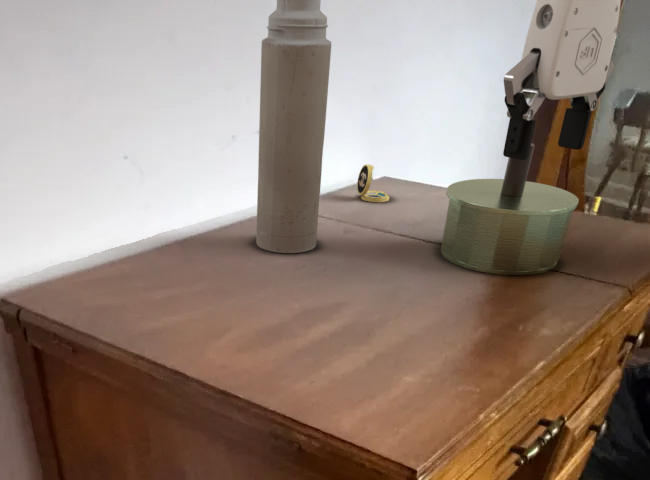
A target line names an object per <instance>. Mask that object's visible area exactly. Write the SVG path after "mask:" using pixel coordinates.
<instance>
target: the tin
mask: <svg viewBox="0 0 650 480" xmlns="http://www.w3.org/2000/svg"><path fill="white" fill-rule="evenodd" d="M573 212H574V210H572V211H570V212H566V213H562V214H556V215H544V216H525V215H510V214H501V213H494V212H488V211H483V210H478V209H474V208H470V207H467V206H464V205H461V204H459V203H456V202H454V201H453V200H451V199H450V198H449V200H448V205H447V212H446V216H445V223H444V227H443V234H442V238H441V248H440V253H441V255H442V257H443V258H444V259H445V260H447V261H448V262H450V263H451V264H454V265H456V266H459V267H462V268H465V269H467V270H471V271H476V272H480V273H485V274H492V275H503V276H530V275H539V274H543V273H547V272H550V271H551V270H553V269H554V268H555V267H557V265H558V262H559V260H560V258H561V254H562V251H563V248H564V244H565V241H566V237H567V234H568V231H569V227H570V223H571V219H572V217H573Z"/></svg>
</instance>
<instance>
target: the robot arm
mask: <svg viewBox="0 0 650 480" xmlns="http://www.w3.org/2000/svg"><path fill="white" fill-rule="evenodd" d="M621 1H622V0H536V2H535V6H534V9H533V12H532V16H531V20H530V23H529V27H528V30H527V34H526V37H525V42H524V46H523V51H522V55H521V59H520V61H519V62H517V63H516V64H515V65H514V66H513V67H511V69H509V70H508V71H507V72H506V73H505V74H504V76H503V88H504V94H505V96H504V104H505V106H506V108H507V110H506V117H508V118H509V120H508V121H509V122H508V126H507V131H506V136H505V142H504V147H503V152H502V154H503V156H504V157H505V158H508V159H509V158H514V159H518V160H526V159H527V158H528V156H529V152H530V147H531V143H532V142H533V137H534V133H535V129H536V123H537V120H536V119H533V118H534V116H535V114H536V113H537V111H538V110H539V108H540V107H541V105H542V104H543V102H544V101H545V99H546V98H547V99H548V100H553V101H557V100H564V99H568V101H569V104H570V107H566V108H565V112H564V115H563V120H562V125H561V128H560V133H559V136H558V141H557V145H558V146H559V147H561V148H566V149H571V150H576V151H579V150H582V149H583V148H584V144H585V141H586V137H587V134H588V129H589V126H590V121H591V117H592V113H593V111H594V110H596V108H597V106H598V100H599V98H600V97H601V95H602V94H603V93H604V91H605V89H606V84H607V82H608V80H609V78H610V76H611V75H612V73H613V71H614V68H615V63H614V62H613V60H612V55H613V49H614V45H615V40H616V34H617V30H618V29H617V28H618V24H619V19H620V12H621ZM528 99H529V100H530V101H529V103H528V102H527V100H528ZM532 144H533V143H532Z"/></svg>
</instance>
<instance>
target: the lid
mask: <svg viewBox="0 0 650 480" xmlns="http://www.w3.org/2000/svg"><path fill="white" fill-rule="evenodd" d="M534 149H535V144H534V143H531V147H530V152H529V156H528V158H527V159H526V160H518V159H514V158H509V157H508V159H507V164H506V168H505V172H504V176H503V178H474V179H473V178H472V179H465V180H459V181H456V182H453V183H451V184H449V185H448V186H447V187H446V192H445V194H446V196H447V198H448V199H449V200H450V199H451V200H453V201H454V202H456V203H459V204H461V205H464V206H467V207H470V208H474V209H478V210H483V211H488V212H494V213H501V214H510V215H525V216H544V215H556V214H562V213H566V212H570V211H572V210H573V211H574V210H576V208H577V207H578V205H579V201H580V199H579V198H578V197H577V196H576V195H575V194H574V193H572V192H570V191H568V190H566V189H563V188H560V187H557V186H553V185H549V184H545V183H539V182H534V181H527V178H528V175H529V170H530V166H531V162H532V159H533V158H532V157H533V154H534Z"/></svg>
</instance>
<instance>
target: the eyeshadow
mask: <svg viewBox="0 0 650 480" xmlns="http://www.w3.org/2000/svg"><path fill="white" fill-rule="evenodd" d="M374 168H375V166H374V165H372V164H364V165H362V167H361V169H360V171H359V174H358V177H357V184H356V190H357V194H358V195H360V198H361V200H363V201H365V202H370V203H386V202H388V201H390V195H388V193H386V192H384V191H383V190H382V191H381V190H370V188H371V184H372V180H373V171H374Z"/></svg>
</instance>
